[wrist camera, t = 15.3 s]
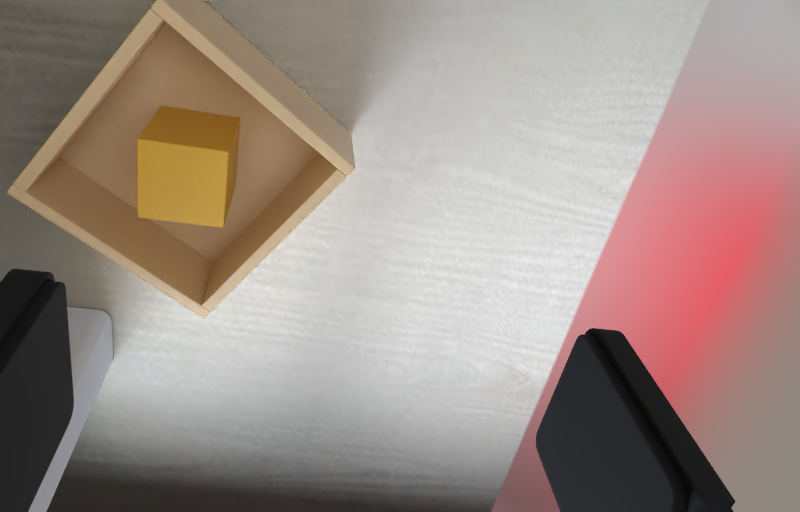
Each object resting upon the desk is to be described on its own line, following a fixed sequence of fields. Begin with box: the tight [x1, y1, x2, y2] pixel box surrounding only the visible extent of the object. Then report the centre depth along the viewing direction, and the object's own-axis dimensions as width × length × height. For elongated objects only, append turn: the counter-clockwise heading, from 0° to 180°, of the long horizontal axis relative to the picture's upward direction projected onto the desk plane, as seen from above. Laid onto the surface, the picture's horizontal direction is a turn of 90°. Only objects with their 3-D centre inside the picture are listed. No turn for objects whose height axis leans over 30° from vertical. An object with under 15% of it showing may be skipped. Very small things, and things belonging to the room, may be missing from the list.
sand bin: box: [7, 0, 355, 318], centre depth 36 cm, size 13×12×6 cm
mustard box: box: [137, 106, 240, 228], centre depth 35 cm, size 4×4×6 cm
